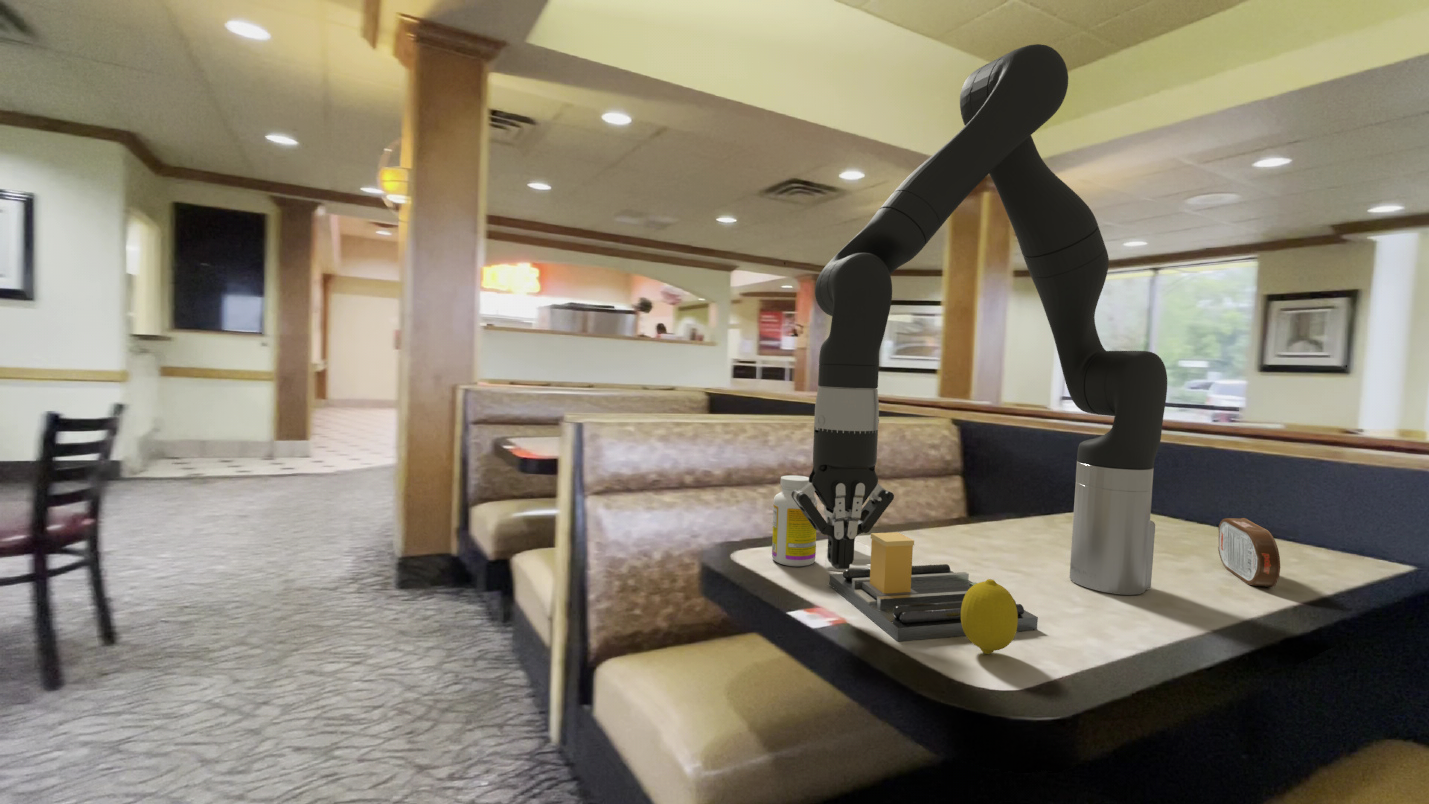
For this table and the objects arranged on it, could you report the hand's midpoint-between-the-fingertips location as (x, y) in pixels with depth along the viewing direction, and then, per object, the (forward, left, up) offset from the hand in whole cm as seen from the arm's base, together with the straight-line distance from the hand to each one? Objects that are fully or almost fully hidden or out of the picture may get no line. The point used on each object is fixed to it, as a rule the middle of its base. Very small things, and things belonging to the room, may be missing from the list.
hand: (839, 567), depth 77 cm
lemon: (-11, +13, -6) cm, 18 cm away
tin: (-68, -3, -6) cm, 68 cm away
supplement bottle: (-2, -20, -6) cm, 21 cm away
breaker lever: (-7, 0, -4) cm, 8 cm away
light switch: (-13, -18, -6) cm, 23 cm away
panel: (-12, 0, -6) cm, 13 cm away
